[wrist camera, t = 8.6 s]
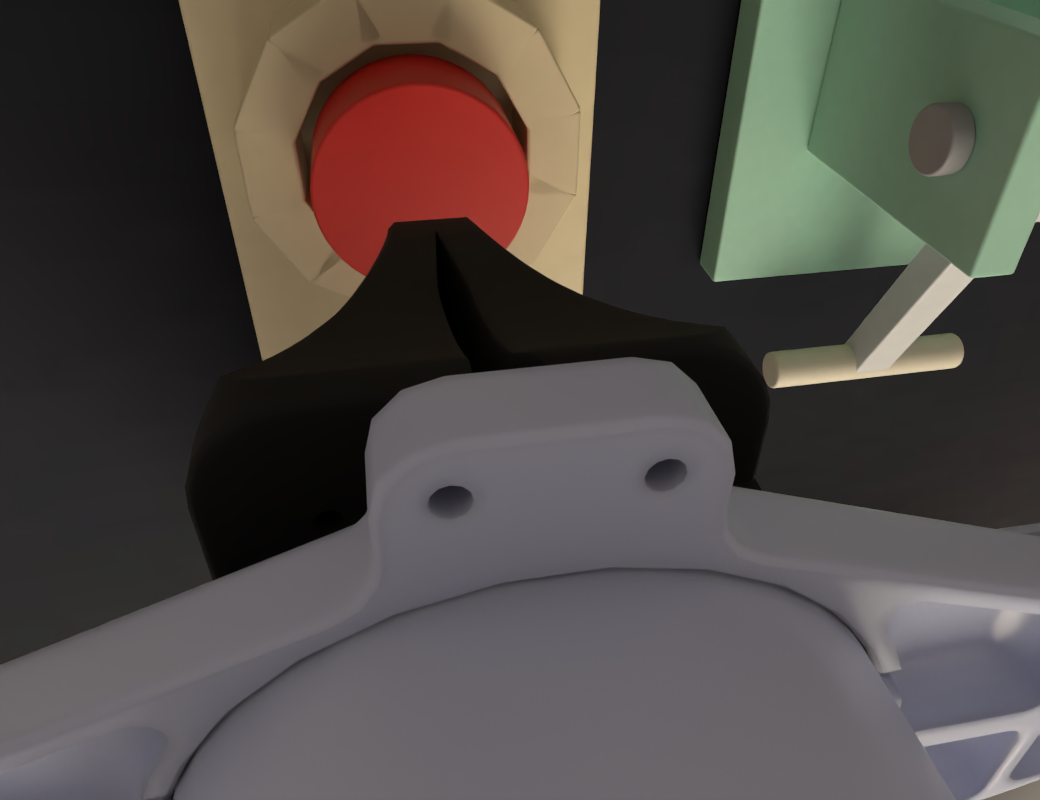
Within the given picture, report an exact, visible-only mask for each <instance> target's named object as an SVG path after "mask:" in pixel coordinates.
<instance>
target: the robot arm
mask: <svg viewBox="0 0 1040 800" xmlns="http://www.w3.org/2000/svg"><path fill="white" fill-rule="evenodd" d="M769 407H770V398H769V394H768V390H767V386H766V383H765V380H764V379H763V377H762V376H761V374H760V373H759V372H758V370H757V369H756V368H755V366H754V364H753V363H752V361H751V360H750V358H749V357H748V355H747V354H746V353H745V351H744V350H743V348H742V347H741V346H740V345H739V343H738V342H737V341H736V340H735V338H734V337H733V336H732V335H731V334H730V333H729V332H728V330H727V329H726V328H725V327H720V326H712V325H703V324H694V323H686V322H677V321H671V320H666V319H661V318H656V317H652V316H647V315H642V314H638V313H635V312H631V311H627V310H623V309H620V308H617V307H614V306H611V305H608V304H605V303H602V302H599V301H597V300H594V299H591V298H589V297H586V296H584V295H582V294H579V293H577V292H575V291H573V290H571V289H569V288H567V287H565V286H563V285H561V284H559V283H557V282H555V281H553V280H551V279H549V278H548V277H546V276H544V275H543V274H541V273H540V272H538V271H536V270H535V269H533V268H532V267H530V266H528V265H527V264H525V263H524V262H523V261H521V260H520V259H518V258H517V257H515V256H514V255H513V254H511V253H510V252H509V251H507V250H506V249H505V248H504V247H502V246H501V245H500V244H499V243H497V242H496V241H495V240H494V239H492V238H491V237H490V236H489V235H488V234H486V233H485V232H484V231H483V230H482V229H481V228H479V227H478V226H477V225H476V224H475V223H474V222H472V221H471V220H470V219H469V218H468V217H459V218H445V219H431V220H418V221H404V222H394V223H393V224H392V225H391V226H390V228H389V229H388V233H387V237H386V240H385V242H384V245H383V247H382V249H381V251H380V253H379V255H378V257H377V259H376V260H375V262H374V264H373V266H372V267H371V269H370V271H369V273H368V274H367V276H366V277H365V278H364V280H363V281H362V283H361V284H360V285H359V287H358V288H357V290H356V291H355V292H354V294H353V295H352V296H351V298H350V299H349V300H348V301H347V302H346V303H345V305H344V306H343V307H342V308H341V309H340V310H339V311H338V312H337V313H336V314H335V315H334V316H333V317H332V318H330V319H329V320H328V321H327V322H325V323H324V324H323V325H321V326H320V327H319V328H317V329H316V330H315V331H313V332H312V333H311V334H309V335H308V336H307V337H305V338H304V339H302V340H301V341H299V342H297V343H296V344H294V345H292V346H291V347H289V348H287V349H285V350H283V351H282V352H280V353H278V354H276V355H274V356H272V357H270V358H268V359H266V360H263V361H261V362H259V363H256V364H253V365H251V366H248V367H246V368H243V369H241V370H238V371H236V372H233V373H230V374H227V375H224V376H221V377H220V378H219V380H218V381H217V384H216V386H215V388H214V390H213V393H212V395H211V397H210V399H209V402H208V404H207V406H206V409H205V411H204V413H203V416H202V418H201V420H200V423H199V426H198V429H197V432H196V436H195V439H194V443H193V448H192V453H191V458H190V464H189V469H188V474H187V479H186V484H185V489H186V496H187V503H188V509H189V512H190V515H191V518H192V521H193V524H194V527H195V530H196V533H197V536H198V538H199V541H200V544H201V547H202V550H203V553H204V556H205V559H206V562H207V564H208V567H209V570H210V573H211V576H212V579H213V581H211V582H208V583H205V584H203V585H200V586H198V587H195V588H193V589H190V590H188V591H185V592H183V593H180V594H178V595H175V596H173V597H170V598H168V599H165V600H163V601H160V602H158V603H155V604H153V605H150V606H148V607H145V608H142V609H140V610H137V611H135V612H132V613H130V614H127V615H125V616H122V617H120V618H117V619H115V620H112V621H110V622H107V623H105V624H102V625H100V626H97V627H95V628H92V629H90V630H87V631H85V632H82V633H79V634H77V635H74V636H72V637H69V638H67V639H64V640H62V641H59V642H57V643H54V644H52V645H49V646H47V647H44V648H42V649H39V650H37V651H34V652H32V653H29V654H27V655H24V656H22V657H19V658H17V659H14V660H11V661H9V662H6V663H4V664H1V665H0V800H982V799H985V798H988V797H991V796H994V795H996V794H1000V793H1002V792H1005V791H1008V790H1011V789H1014V788H1017V787H1020V786H1022V785H1025V784H1028V783H1031V782H1034V781H1037V780H1040V523H1036V524H1029V525H1022V526H1015V527H1008V528H1001V529H992V528H986V527H979V526H973V525H967V524H961V523H955V522H949V521H943V520H937V519H930V518H924V517H918V516H912V515H906V514H900V513H894V512H888V511H881V510H875V509H869V508H863V507H857V506H851V505H845V504H839V503H832V502H826V501H820V500H814V499H808V498H802V497H796V496H790V495H783V494H777V493H771V492H765V491H762V490H761V488H760V486H759V485H758V483H757V481H756V480H755V478H754V477H755V473H756V469H757V465H758V460H759V456H760V452H761V448H762V444H763V440H764V436H765V432H766V428H767V424H768V418H769Z"/></svg>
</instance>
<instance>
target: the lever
mask: <svg viewBox="0 0 1040 800" xmlns="http://www.w3.org/2000/svg"><path fill="white" fill-rule="evenodd" d="M1036 222H1040V212H1039V215H1038V217H1037V219H1036ZM972 279H973V278H970V277H968V276H967V275H965V274H964V273H963V272H962V271H960V270H959V269H958V268H957V267H955V266H954V265H953V264H951V263H950V262H949V261H948V260H946V259H945V258H944V257H942V256H941V255H940V254H939V253H937V252H936V251H935V250H934V249H932V248H931V247H930V246H928V245H927V244H925V245H924V247H923V248H922V249H921V250H920V252H919V253H918V254H917V255H916V257H915V258H914V259H913V260H912V261H911V263H910V264H909V265H908V266H907V268H906V269H905V270H904V271H903V273H902V274H901V275H900V276H899V278H898V279H897V280H896V281H895V283H894V284H893V285H892V286H891V287H890V289H889V290H888V291H887V292H886V294H885V295H884V296H883V297H882V299H881V300H880V301H879V302H878V304H877V305H876V306H875V307H874V309H873V310H872V311H871V312H870V313H869V315H868V316H867V317H866V318H865V320H864V321H863V322H862V323H861V325H860V326H859V327H858V328H857V330H856V331H855V332H854V333H853V334H852V336H851V337H850V338H849V339H848V341H847V342H846V343H845V344H842V345H832V346H823V347H813V348H804V349H794V350H785V351H775V352H769V353H767V354H766V355H765V357H764V360H763V375H764V379H765V381H766V383H767V385H768V386H769V387H771V388H780V387H789V386H798V385H807V384H816V383H825V382H833V381H842V380H851V379H860V378H869V377H878V376H887V375H896V374H905V373H914V372H923V371H932V370H941V369H949V368H955V367H957V366H958V365H959V364H960V363H961V362H962V360H963V356H964V348H963V344H962V342H961V340H960V338H959V337H958V336H957V335H955V334H952V333H947V334H937V335H928V336H920V335H921V333H922V332H923V331H924V330H925V329H926V328H927V327H928V326H929V325H930V324H931V323H932V322H933V321H934V320H935V319H936V318H937V316H938V315H939V314H940V313H941V312H942V311H943V310H944V309H945V308H946V307H947V306H948V305H949V304H950V303H951V302H952V301H953V300H954V298H955V297H956V296H957V295H958V294H959V293H960V292H961V291H962V290H963V289H964V288H965V287H966V286H967V285H968V284H969V283H970V282H971V280H972Z"/></svg>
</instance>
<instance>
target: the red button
mask: <svg viewBox="0 0 1040 800" xmlns="http://www.w3.org/2000/svg"><path fill="white" fill-rule="evenodd" d="M310 195H311V203H312V208H313V212H314V216H315V218H316V221H317V223H318V226H319V228H320V230H321V232H322V234H323V236H324V238H325V239H326V241H327V242H328V244H329V245H330V246H331V248H332V249H333V250H334V251H335V253H336V254H337V255H338V256H339V257H340V258H341V259H342V260H343V261H344V262H346V263H347V264H348V265H349V266H351V267H352V268H353V269H354V270H356V271H358V272H359V273H361V274H362V275H364V276H367V274H368V273H369V271H370V269H371V267H372V266H373V264H374V262H375V260H376V259H377V257H378V255H379V253H380V251H381V249H382V247H383V245H384V242H385V240H386V237H387V233H388V229H389V228H390V226H391V225H392V224H393V223H394V222H404V221H418V220H431V219H445V218H459V217H468V218H469V219H470V220H471V221H472V222H474V223H475V224H476V225H477V226H478V227H479V228H481V229H482V230H483V231H484V232H485V233H486V234H488V235H489V236H490V237H491V238H492V239H494V240H495V241H496V242H497V243H499V244H500V245H501V246H502V247H504V248H505V249H507V248H508V246H509V245H510V243H511V242H512V241H513V239H514V238H515V236H516V234H517V232H518V230H519V228H520V226H521V224H522V221H523V218H524V215H525V213H526V208H527V203H528V197H529V173H528V168H527V162H526V158H525V155H524V152H523V149H522V147H521V145H520V143H519V141H518V139H517V137H516V135H515V133H514V131H513V129H512V127H511V125H510V123H509V121H508V119H507V117H506V115H505V113H504V111H503V109H502V107H501V106H500V104H499V102H498V101H497V99H496V98H495V96H494V95H493V93H492V92H491V91H490V90H489V89H488V88H487V87H486V86H485V84H484V83H483V82H481V81H480V80H479V79H478V78H477V77H476V76H474V75H473V74H472V73H470V72H469V71H467V70H465V69H464V68H462V67H461V66H459V65H456V64H454V63H452V62H450V61H447V60H444V59H441V58H438V57H434V56H428V55H422V54H403V55H394V56H389V57H385V58H382V59H378V60H376V61H373V62H371V63H368V64H366V65H364V66H363V67H361V68H359V69H357V70H356V71H354V72H353V73H351V74H350V75H349V76H348V77H346V78H345V79H344V80H343V81H342V82H341V83H340V84H339V85H338V86H337V87H336V88H335V89H334V90H333V92H332V93H331V95H330V96H329V97H328V99H327V100H326V102H325V104H324V106H323V107H322V109H321V111H320V113H319V116H318V119H317V122H316V125H315V129H314V134H313V139H312V156H311V174H310Z"/></svg>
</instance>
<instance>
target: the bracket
mask: <svg viewBox="0 0 1040 800" xmlns="http://www.w3.org/2000/svg"><path fill="white" fill-rule="evenodd" d="M1039 212H1040V0H741V6H740V12H739V18H738V25H737V31H736V37H735V44H734V50H733V56H732V63H731V69H730V75H729V82H728V88H727V94H726V101H725V107H724V113H723V120H722V126H721V132H720V139H719V145H718V151H717V158H716V164H715V170H714V176H713V183H712V189H711V195H710V202H709V208H708V214H707V221H706V227H705V233H704V240H703V246H702V252H701V259H700V264H701V265H702V267H703V268H704V269H705V271H706V272H707V273H708V275H709V276H710V277H711V279H712V280H713V281H715V282H716V281H728V280H739V279H750V278H761V277H772V276H783V275H794V274H805V273H816V272H827V271H838V270H849V269H861V268H872V267H883V266H894V265H905V264H910V263H911V261H912V260H913V259H914V258H915V257H916V255H917V254H918V253H919V252H920V250H921V249H922V248H923V247H924V245H925V244H927V245H928V246H930V247H931V248H932V249H934V250H935V251H936V252H937V253H939V254H940V255H941V256H942V257H944V258H945V259H946V260H948V261H949V262H950V263H951V264H953V265H954V266H955V267H957V268H958V269H959V270H960V271H962V272H963V273H964V274H965V275H967V276H968V277H970V278H978V277H988V276H999V275H1010V274H1012V273H1013V272H1014V271H1015V268H1016V266H1017V264H1018V261H1019V259H1020V257H1021V254H1022V252H1023V250H1024V247H1025V245H1026V243H1027V240H1028V238H1029V236H1030V233H1031V231H1032V229H1033V226H1034V224H1035V222H1036V219H1037V217H1038V215H1039Z"/></svg>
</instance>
